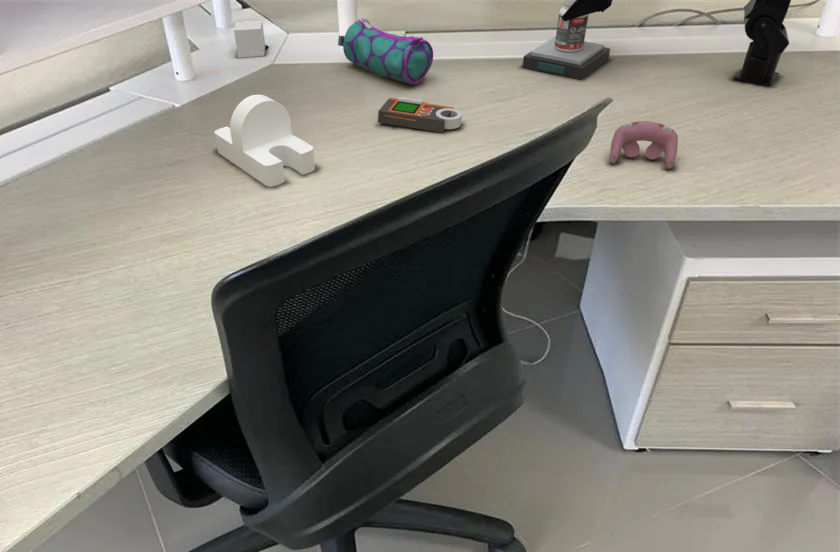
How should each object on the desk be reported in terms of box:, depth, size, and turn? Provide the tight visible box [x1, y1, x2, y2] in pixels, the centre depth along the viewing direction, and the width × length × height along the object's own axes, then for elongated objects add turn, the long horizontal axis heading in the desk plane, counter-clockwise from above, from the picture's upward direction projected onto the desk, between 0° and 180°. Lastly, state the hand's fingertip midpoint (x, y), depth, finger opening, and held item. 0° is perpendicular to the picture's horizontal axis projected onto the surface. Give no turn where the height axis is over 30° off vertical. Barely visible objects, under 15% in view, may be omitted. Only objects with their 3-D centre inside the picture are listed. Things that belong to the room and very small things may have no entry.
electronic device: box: [377, 96, 463, 133], centre depth 128 cm, size 7×3×15 cm
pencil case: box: [337, 17, 434, 86], centre depth 145 cm, size 21×9×10 cm, turn 39°
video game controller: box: [609, 120, 679, 170], centre depth 112 cm, size 10×5×7 cm, turn 71°
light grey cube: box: [233, 19, 266, 58], centre depth 161 cm, size 6×6×6 cm
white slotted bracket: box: [214, 94, 316, 188], centre depth 117 cm, size 10×18×11 cm, turn 37°
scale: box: [521, 35, 611, 81], centre depth 146 cm, size 13×13×3 cm
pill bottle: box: [555, 0, 590, 52], centre depth 141 cm, size 6×6×10 cm
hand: (565, 13), depth 141 cm, fingers open, 8 cm apart
